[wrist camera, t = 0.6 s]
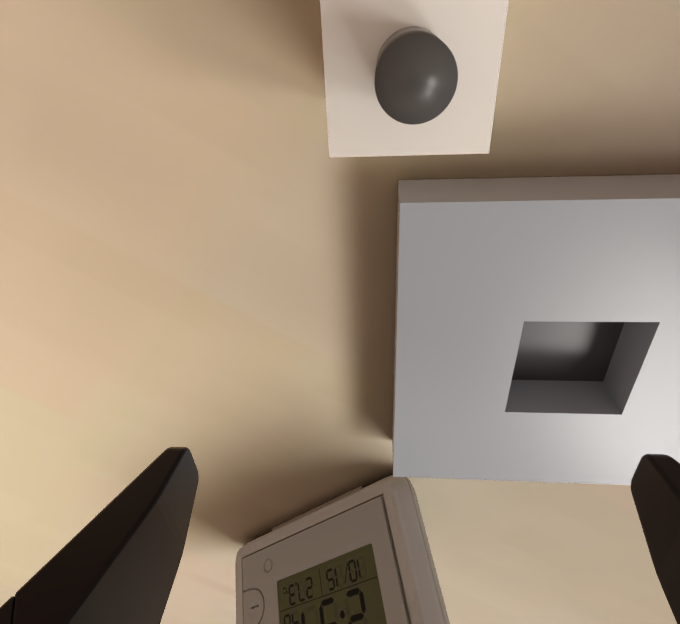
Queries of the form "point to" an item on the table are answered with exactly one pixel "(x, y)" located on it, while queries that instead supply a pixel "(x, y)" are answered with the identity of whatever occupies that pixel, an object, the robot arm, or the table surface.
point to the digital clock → (344, 564)
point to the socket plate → (536, 327)
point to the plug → (411, 75)
